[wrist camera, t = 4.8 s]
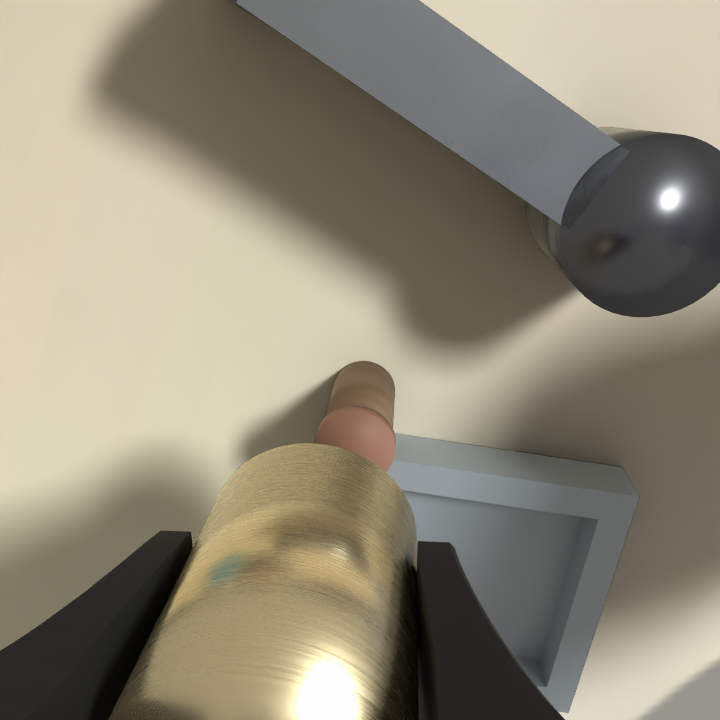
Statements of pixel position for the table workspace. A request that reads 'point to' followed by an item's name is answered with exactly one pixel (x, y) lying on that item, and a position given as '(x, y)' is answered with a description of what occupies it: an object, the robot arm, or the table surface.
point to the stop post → (361, 413)
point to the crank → (533, 150)
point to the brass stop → (290, 600)
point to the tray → (525, 543)
